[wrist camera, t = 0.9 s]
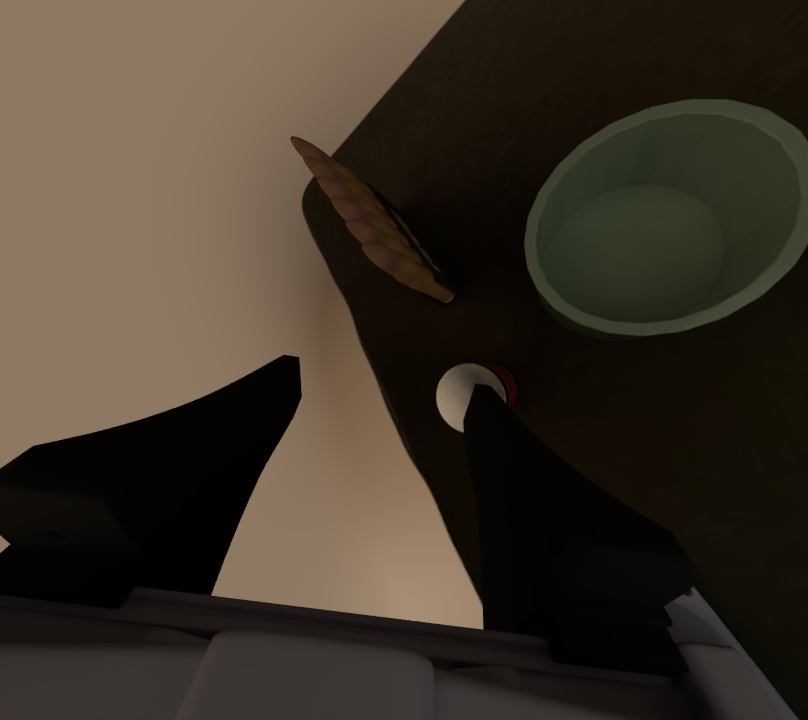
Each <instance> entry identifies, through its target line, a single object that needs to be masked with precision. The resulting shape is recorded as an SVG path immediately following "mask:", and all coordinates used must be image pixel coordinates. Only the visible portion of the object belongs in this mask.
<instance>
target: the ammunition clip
mask: <svg viewBox="0 0 808 720" xmlns="http://www.w3.org/2000/svg"><path fill="white" fill-rule="evenodd" d="M291 142H292V144H293V146H294V147H295V149H296V150H297V151H298V153H299V154H300V155H301V156H302V157H303V159H304V161H305V163H306V165H307V167H308V168H309V170H310V171H311V172H312V173H313V175H314V176H315V177H316V178H317V181H318V183H319V185H320V186H321V188H322V189H323V190H324V192H325V193H326V194H327V195H328V196H329V197H330V198H331V202H332V204H333V206H334V208H335V209H336V210H337V212H338V213H339V214H340V215H341V216H342V217H343V218H344V219H345V220H346V225H347V227H348V229H349V230H350V232H351V233H352V234H353V235H354V236H355V237H356V238H357V239H358V240H359V241H360V242H361V243H362V244H363V245H362V249H363V251H364V253H365V254H366V256H367V257H368V258H369V259H370V260H371V261H372V262H373V263H374V264H376V265H377V266H378V267H380V268H381V269H383V270H385V271H386V272H388V273H389V274H391V275H393V276H394V277H395V278H396V279H397V280H398V281H400V282H401V283H403V284H405V285H407V286H409V287H411V288H413V289H414V291H415V292H416V293H417V295H418V296H420V297H422V298H425V299H427V300H429V301H431V302H433V303H435V304H437V305H439V306H441V307H443V308H446V307H447V306H449V305H450V304H451V303H452V302H453V301H454V300H456V299H457V298H458V297H459V296H460V295H461V293H460V291H459V290H458V289H457V287H456V286H455V285H454V283H453V282H452V281H451V279H450V278H449V277H448V275H447V274H446V273H445V271H444V270H443V269H442V267H441V266H440V265H439V263H438V262H437V261H436V259H435V258H434V257H433V255H432V254H431V253H430V251H429V250H428V249H427V247H426V246H425V245H424V243H423V242H422V241H421V239H420V238H419V237H418V235H417V234H416V233H415V231H414V230H413V229H412V227H411V226H410V225H409V223H408V222H407V221H406V219H405V218H404V217H403V215H402V214H401V213H400V211H399V210H398V209H397V208H396V207H395V206H394V205H392V204H391V203H390V202H389V201H388V200H387V199H386V198H385V197H383V196H382V195H381V194H380V193H379V192H378V191H377V190H376V189H375V188H373V187H372V186H371V185H370V184H369V183H368V182H367V183H366V184H365V183H364V182H363V181H362V180H360V179H359V178H358V177H357V176H356V175H355V174H354V173H353V172H351V171H350V170H349V169H348V168H346V167H344V166H342V165H340V164H339V163H337V162H336V161H335V160H334V159H332V158H331V157H329V156H328V155H327V154H326V153H324V152H323V151H322V150H320V149H319V148H317V147H316V146H314V145H313V144H311V143H309V142H307V141H305V140H303V139H301V138H298V137H291Z"/></svg>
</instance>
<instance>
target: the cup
mask: <svg viewBox="0 0 808 720" xmlns="http://www.w3.org/2000/svg"><path fill="white" fill-rule="evenodd" d="M807 245H808V141H807V139H806V138H805V137H804V135H803V134H802V132H801V131H800V130H797V128H796V127H795V126H793V125H792V124H790V123H789V122H787V121H785V120H784V119H782V118H781V117H779V116H778V115H776V114H774V113H773V112H771V111H770V110H767V111H766V109H765V108H761V107H757V106H753V105H750V104H746V103H742V102H738V101H734V100H728V99H690V100H689V101H688V100H683V101H678V102H673V103H668V104H664V105H659V106H654V107H650V108H649V109H648V108H647V109H645V110H642V111H640V112H637V113H635V114H633V115H630V116H628V117H625V118H623V119H621V120H618V121H616V122H614V123H611V124H610V125H608V126H607V127H605V128H604V129H602V130H600V131H599V132H597V133H596V134H594V135H593V136H591V137H590V138H588V139H587V140H585V141H583V142H582V143H581V144H580V145H579V146H578V147H577V148H576V149H575V150H573V151H572V152H571V153H570V154H569V155H568V156H567V157H566V158H565V159H564V160H563V161H562V162H561V163H560V164H559V165H558V166H557V167H556V168H555V170H554V171H553V173H552V174H551V175H550V177H549V178H548V180H547V181H546V182H545V184H544V185H543V187H542V188H541V189H540V192H539V193H538V195H537V197H536V199H535V202H534V204H533V207H532V209H531V211H530V214H529V216H528V220H527V226H526V233H525V239H524V247H525V255H526V263H527V268H528V271H529V274H530V276H531V279H532V282H533V284H534V287H535V289H536V292H537V294H538V296H539V299H540V301H541V303H542V305H543V306H544V308H545V309H546V310H547V312H548V313H549V314H550V315H551V316H552V317H553V318H554V319H555V320H556V321H557V322H558V323H559V324H561V325H562V326H563V327H565V328H567V329H568V330H570V331H572V332H574V333H576V334H579V335H581V336H584V337H587V338H591V339H595V340H601V341H609V342H627V341H636V340H644V339H650V338H654V337H659V336H664V335H668V334H673V333H677V332H682V331H686V330H689V329H692V328H695V327H698V326H701V325H704V324H707V323H710V322H713V321H716V320H719V319H721V318H723V317H726V316H728V315H730V314H731V313H733V312H735V311H737V310H738V309H740V308H742V307H744V306H745V305H747V304H749V303H751V302H752V301H754V300H756V299H758V298H759V297H760V296H761V295H763V294H765V293H766V292H767V291H768V290H769V289H770V288H771V287H772V286H773V285H774V284H775V283H776V282H778V281H779V280H780V279H781V278H782V277H783V276H784V275H785V274H786V273H787V272H788V271H789V270H791V269H792V268H793V265H795V264H796V263H797V261H798V259H799V258H800V256H801V255H802V253H803V251H804V250H805V248H806V247H807Z"/></svg>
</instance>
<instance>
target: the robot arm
mask: <svg viewBox="0 0 808 720" xmlns="http://www.w3.org/2000/svg"><path fill="white" fill-rule="evenodd" d="M301 397H302V395H301V378H300V363H299V357H295V356H287V355H283V356H281V357H279V358H277V359H275V360H273V361H272V362H270V363H268V364H266V365H265V366H263V367H261V368H259V369H257V370H256V371H254V372H252V373H250V374H248V375H246V376H245V377H243V378H241V379H239V380H237V381H235V382H233V383H231V384H229V385H227V386H225V387H223V388H221V389H219V390H217V391H215V392H213V393H211V394H209V395H206V396H204V397H202V398H199V399H197V400H194V401H192V402H189V403H187V404H184V405H182V406H179V407H176V408H173V409H170V410H168V411H165V412H162V413H159V414H156V415H153V416H150V417H147V418H144V419H141V420H137V421H135V422H131V423H127V424H124V425H120V426H117V427H113V428H109V429H105V430H102V431H98V432H94V433H90V434H85V435H81V436H76V437H72V438H67V439H63V440H59V441H54V442H50V443H45V444H40V445H35V446H33V447H31V448H30V449H28V450H27V451H25V452H24V453H22V454H21V455H19V456H18V457H16V458H15V459H13V460H12V461H11V462H9V463H8V464H6V465H5V466H3V467H2V468H1V469H0V535H1V536H2V537H3V538H4V539H5V540H6V541H8V542H9V543H10V545H9V546H8V547H7V548H6V549H4V550H3V551H2V552H1V553H0V720H799V718H798V717H797V716H796V715H795V713H794V712H793V711H792V710H791V708H790V707H789V706H788V705H787V703H786V702H785V701H784V699H783V698H782V697H781V696H780V694H779V693H778V692H777V691H776V689H775V688H774V687H773V685H772V684H771V683H770V682H769V680H768V679H767V678H766V677H765V675H764V674H763V673H762V672H761V670H760V669H759V668H758V666H757V665H756V664H755V663H754V661H753V660H752V659H751V658H750V656H749V655H748V654H747V652H746V651H745V650H744V649H743V647H742V646H741V645H740V644H739V642H738V641H737V640H736V639H735V637H734V636H733V635H732V633H731V632H730V631H729V630H728V628H727V627H726V626H725V625H724V623H723V622H722V621H721V620H720V618H719V617H718V616H717V614H716V613H715V612H714V611H713V609H712V608H711V607H710V606H709V604H708V603H707V602H706V600H705V599H704V598H703V597H702V595H701V594H700V593H699V592H698V590H697V589H696V588H695V587H694V586H695V584H696V582H697V580H698V578H699V572H698V568H697V567H696V566H695V564H694V563H693V561H692V560H691V559H690V557H689V556H688V554H687V553H686V551H685V550H684V549H683V547H682V546H681V544H680V543H679V542H678V540H677V539H676V537H675V536H674V535H673V533H672V532H670V531H669V530H667V529H665V528H664V527H662V526H660V525H659V524H657V523H655V522H653V521H652V520H650V519H648V518H647V517H645V516H643V515H642V514H640V513H638V512H636V511H635V510H633V509H631V508H630V507H628V506H627V505H625V504H623V503H622V502H620V501H619V500H617V499H616V498H614V497H613V496H611V495H610V494H608V493H607V492H605V491H604V490H602V489H601V488H599V487H598V486H597V485H595V484H594V483H592V482H591V481H590V480H588V479H587V478H586V477H584V476H583V475H582V474H580V473H579V472H578V471H576V470H575V469H574V468H572V467H571V466H570V465H569V464H567V463H566V462H565V461H564V460H563V459H561V458H560V457H559V456H558V455H557V454H556V453H554V452H553V451H552V450H551V449H550V448H549V447H548V446H546V445H545V444H544V443H543V442H542V441H541V440H540V439H539V438H538V437H537V436H536V435H535V434H534V433H533V432H532V431H531V430H530V429H529V428H528V427H527V426H526V425H525V424H524V423H523V422H522V421H521V420H520V418H519V417H518V416H517V415H516V414H515V413H514V412H513V411H512V409H511V408H510V407H509V406H508V405H507V404H506V403H505V401H504V400H503V399H502V398H501V397H500V396H499V394H498V393H497V392H496V391H495V390H494V389H493V388H492V387H491V386H490V385H485V384H478V383H475V386H474V389H473V392H472V395H471V398H470V401H469V404H468V407H467V410H466V413H465V416H464V419H463V429H464V443H465V448H466V453H467V459H468V464H469V469H470V474H471V479H472V484H473V489H474V494H475V501H476V509H477V519H478V530H479V544H480V557H481V576H482V597H483V630H481V629H474V628H465V627H458V626H450V625H441V624H433V623H425V622H418V621H410V620H401V619H394V618H386V617H377V616H369V615H362V614H353V613H345V612H337V611H329V610H321V609H313V608H305V607H296V606H289V605H281V604H273V603H265V602H257V601H249V600H241V599H233V598H225V597H217V596H211V594H212V591H213V589H214V586H215V583H216V581H217V578H218V575H219V573H220V570H221V567H222V565H223V562H224V559H225V556H226V554H227V551H228V549H229V547H230V544H231V541H232V539H233V537H234V534H235V532H236V529H237V527H238V524H239V522H240V519H241V517H242V515H243V513H244V510H245V508H246V506H247V503H248V501H249V498H250V497H251V494H252V492H253V490H254V488H255V485H256V483H257V481H258V479H259V476H260V475H261V473H262V471H263V469H264V467H265V465H266V463H267V462H268V460H269V458H270V457H271V455H272V453H273V451H274V450H275V448H276V446H277V445H278V443H279V441H280V440H281V438H282V436H283V434H284V433H285V431H286V429H287V427H288V426H289V424H290V422H291V420H292V419H293V417H294V414H295V412H296V409H297V407H298V405H299V402H300V400H301Z"/></svg>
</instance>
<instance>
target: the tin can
mask: <svg viewBox="0 0 808 720" xmlns="http://www.w3.org/2000/svg"><path fill="white" fill-rule="evenodd" d="M475 383H478V384H485V385H490V386H491V387H492V388H493V389H494V390H495V391H496V392H497V393H498V394H499V396H500V397H501V398H502V399H503V400H504V401H505V403H506V404H507V405H508V406H509V407H510V408H511V409H512V408H513V407H514V406H515V404H516V403H517V400H518V397H519V385H518V381H517V379H516V377H515V375H514V374H513V373H512V372H511V371H510V370H509V369H508V368H507V367H505V366H504V365H502V364H499V363H495V362H475V363H464V364H460V365H456V366H454V367H452V368H451V369H449V370H448V371H447V372H446V373H445V374H444V375H443V376H442V378H441V379H440V382H439V384H438V387H437V391H436V401H437V406H438V409H439V412H440V414H441V415H442V417H443V419H444V420H445V421H446V422H447V423H448V424H449V425H450V426H451V427H453V428H454V429H456V430H458V431H460V432H463V433H464V429H463V419H464V416H465V413H466V410H467V407H468V404H469V401H470V398H471V395H472V392H473V389H474V386H475Z"/></svg>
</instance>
